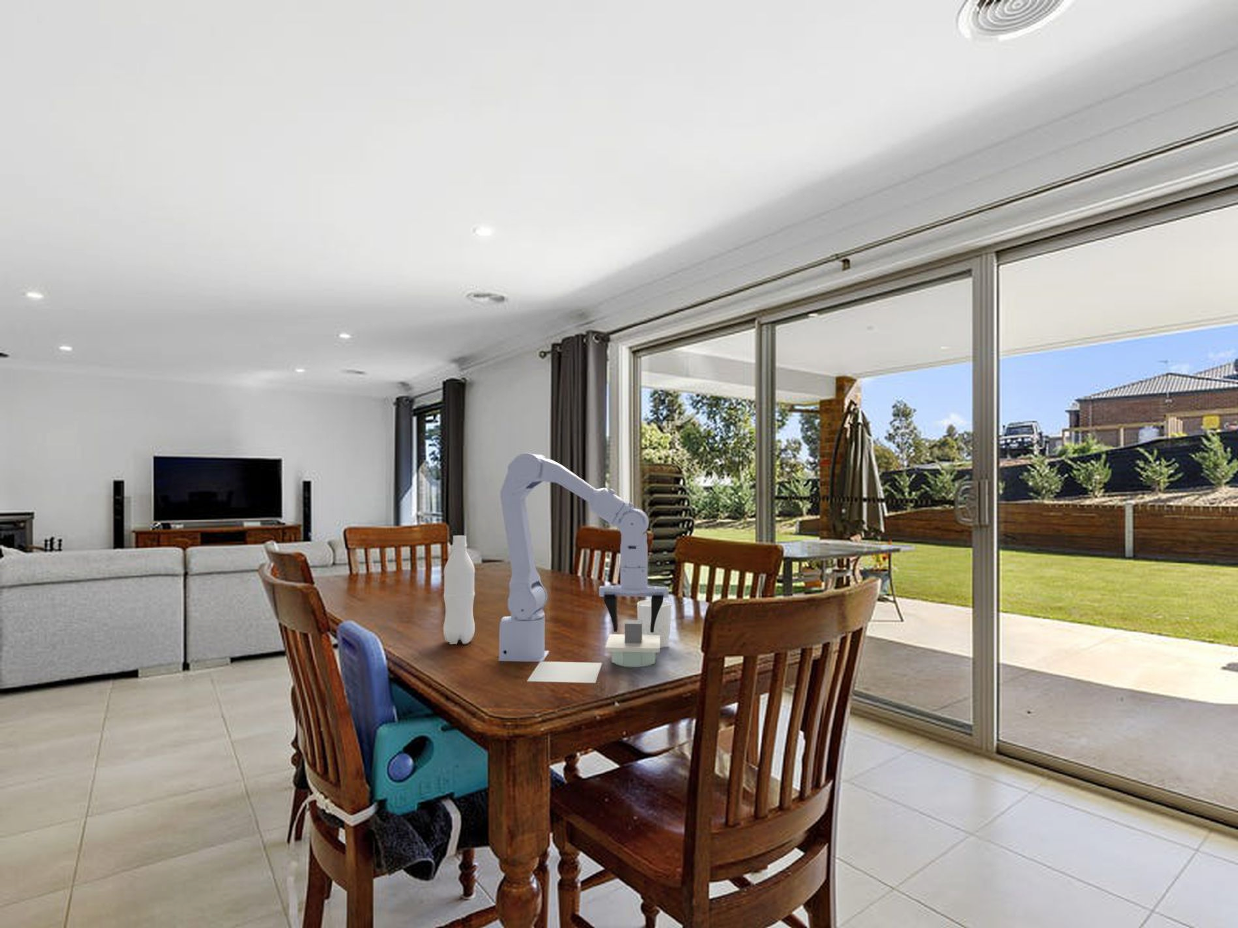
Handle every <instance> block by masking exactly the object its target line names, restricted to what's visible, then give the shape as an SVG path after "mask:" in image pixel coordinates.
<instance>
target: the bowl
mask: <svg viewBox="0 0 1238 928" xmlns="http://www.w3.org/2000/svg"><path fill="white" fill-rule="evenodd" d="M611 663H612V664H615V665H617V666H620V667H625V668H643V667H648V666H651V665H654V664H656V652H611Z"/></svg>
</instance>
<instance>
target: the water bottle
mask: <svg viewBox="0 0 1238 928" xmlns="http://www.w3.org/2000/svg"><path fill="white" fill-rule="evenodd" d="M452 538H453V539H452V545H451V547H452V550H451V554H450V556H449V558H448V560H447V562H446V563H445V566H444V569H443V574H444V577H443V579H444V580H443V581H444V582H443V583H444V587H443V592H444V593H443V600H444V605H445V607H444V608H445V616H444V622H443V628H442V629H443V636H444V640H445V642H447V643H448V642H449V643H448V644H450V645H452V644H456V645H457V644H458V642H459V641H461V643H462V645H466V644H469V643H470V642H471V641H472V639H473V637H474V635H475V631H476V627H475V626H476V624H475V623H476V622H475V620H474V600H475V597H476V596H475V595H476V592H475V573H476V570H475V569H476V568H475V565H474V563H473V561H472V559H471V557H470V554H469V553H468V550H467V547H468V542H467V536H466V535H453V537H452Z"/></svg>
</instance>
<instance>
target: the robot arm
mask: <svg viewBox="0 0 1238 928" xmlns="http://www.w3.org/2000/svg"><path fill="white" fill-rule="evenodd" d="M543 482H546V483H555V484H558V485H560V486H562V487H563V488H565V489H566V490H568V491H570V492H571V493H573V494H575V495H577V497H580V498H582V499H583V500H584V501H586V502H587V503H588V508H589V510H590V512H592V513H594V514H595V515H597V517H600V518H601V519H603V520H604V521H606V522H607V523H609V524H610V525H612V526H613V527H618V528H617V529H618V531H619V533H620V535H621V537H620V538H621V539H620V557H619V558H620V562H619V564H620V566H619V567H620V568H619V569H620V585H600V586H599V588H598V595H599V596H598V597H601V598H603V597H604V599H603V601H604V605H605V606H606V608H607V611H608V614H609V616H610V619H611V624H612V629H613V632H614V633H618V630H619V629H618V628H619V626H618V625H619V623H618V597H639V598H640V597H641V598H642V597H643V598H648V597H650V600H651V627H650V633H654V626H655V621H656V618H657V615H658V612H659V610H660V607H661V605H662V603H663V600H664V598H665V599H666V598H669V597H670V595H669V589H670V588H669V586H656V585H655V586H654V585H648V561H649V560H648V554H649V553H648V548H649V547H648V541H647V540H648V535H647V534H648V533H647V532H646V531H647V530H648V528H649V525H650V522H649V521H650V520H649V517H648V515H647V513H646V512H644V511H643V509H642V508H639V507H634V506H635V504H634V503H633V502H631V501H629V502H627V501H625V500H624V499H622V498H621V497H620V496H618V495H617V494H615V493H616V490H614V489H612V488H609V489H607V488H606V487H602V488H598V489H596V487H593V486H592V485H591V484H589V483H588V482H586V481H585V480H584V479H582V478H580V477H579V476H578V475H576V474H575V473H574V472H572V471H571V470H570V469H568V468H567V467H565V466H563V465H562V464H560V463H558V462H556V461H555V460H553V459H551V458H548V457H547V456H545V455H543V454H539V453H535V454H533V453H530V452H523V453H520V454H518V455H516V457H515V458H514V459H513V460H511V462H510V463H509V464H508V466H507V473H506V475H505V478H504V480H503V483H502V486H501V489H500V492H499V494H500V495H499V496H500V502H501V509H502V515H503V523H504V529H505V537H506V541H507V542H506V543H507V550H508V556H509V561H510V562H509V563H510V568H511V577H510V581H509V584H508V585H509V587H508V588H509V596H508V598H507V609H508V611H509V613H510V616H507V615H506V616H503V617H502V618H501V620H500V623H499V630H498V631H499V634H498V636H499V643H498V644H499V648H498V652H499V653H498V655H499V656H498V661H499V662H500V661H501V662H536V663H537V662H538V663H540V661H541V662H544V661H545V659H546V657H547V656H548V655H549V653H550V651H549V650H545V642H546V641H545V639H546V638H545V637H546V636H545V635H546V634H545V631H546V630H545V629H546V628H545V626H546V624H545V623H546V622H545V620H546V619H545V618H546V616H545V615H546V614H545V612H544V609H543V608H544V606H546V603H547V601H548V592H547V590H546V587H544V585H543V583H542V580H541V575H540V574H539V572H538V570H537V567H536V563H535V562H536V561H535V556H534V555H535V554H534V548H533V542H532V535H531V529H530V522H529V517H528V516H529V515H528V509H527V502H526V498H527V497H528V496H529V495H530V493H531V492H532V491H533V489H534V488H535V487H536V486H539V485H540V484H541V483H543Z"/></svg>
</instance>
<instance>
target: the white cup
mask: <svg viewBox="0 0 1238 928" xmlns="http://www.w3.org/2000/svg"><path fill="white" fill-rule="evenodd" d="M636 608H637V610H636V611H637V620H642V635H660V649H661V648H669V647H670V635H671V620H672V618H671V617H672V616H671V615H672V602H671V601H668V600H664V599H663V603H662V605H661V607H660V610H659V612H658V615H657V618H656V621H655V626H654V633H650V627H651V599H644V600H640V601H638V602H636Z"/></svg>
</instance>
